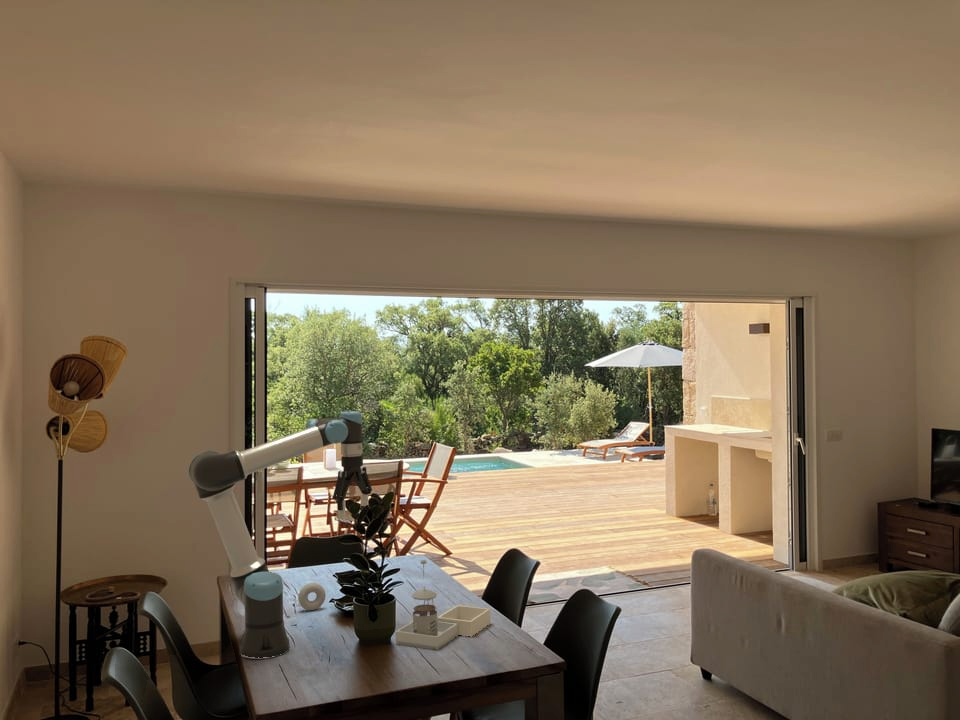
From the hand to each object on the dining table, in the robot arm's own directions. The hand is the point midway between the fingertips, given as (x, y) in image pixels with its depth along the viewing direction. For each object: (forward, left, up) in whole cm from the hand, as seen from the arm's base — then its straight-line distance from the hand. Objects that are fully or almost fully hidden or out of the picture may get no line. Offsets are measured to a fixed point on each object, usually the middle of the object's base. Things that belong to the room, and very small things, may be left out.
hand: (353, 516), depth 267 cm
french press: (-8, -33, -36) cm, 49 cm away
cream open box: (+7, -39, -37) cm, 54 cm away
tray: (-8, -33, -37) cm, 50 cm away
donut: (+5, +23, -37) cm, 44 cm away
